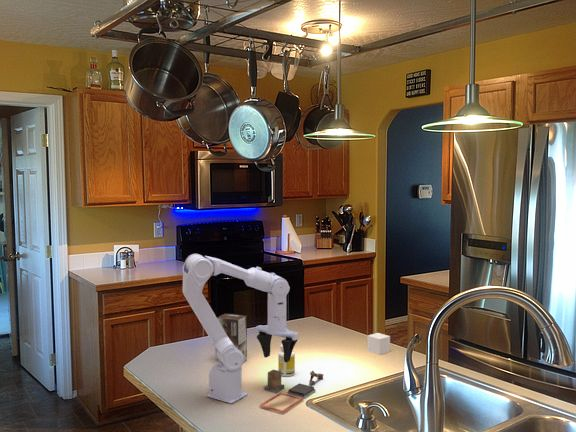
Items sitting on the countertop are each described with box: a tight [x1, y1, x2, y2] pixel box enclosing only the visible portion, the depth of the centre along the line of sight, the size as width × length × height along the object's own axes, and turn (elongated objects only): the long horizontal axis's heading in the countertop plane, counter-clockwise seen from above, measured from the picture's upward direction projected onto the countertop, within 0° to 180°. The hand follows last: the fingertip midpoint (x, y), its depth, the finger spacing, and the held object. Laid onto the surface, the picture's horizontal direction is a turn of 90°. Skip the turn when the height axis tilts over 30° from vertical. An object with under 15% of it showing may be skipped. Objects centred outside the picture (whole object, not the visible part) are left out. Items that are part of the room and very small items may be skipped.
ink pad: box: [286, 383, 316, 400], centre depth 164 cm, size 6×7×2 cm
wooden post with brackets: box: [308, 370, 324, 386], centre depth 172 cm, size 2×8×4 cm, turn 151°
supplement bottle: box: [277, 343, 296, 377], centre depth 180 cm, size 5×5×10 cm
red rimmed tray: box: [259, 392, 304, 415], centre depth 156 cm, size 8×11×1 cm
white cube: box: [366, 332, 391, 356], centre depth 204 cm, size 6×6×6 cm
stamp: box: [264, 369, 285, 394], centre depth 167 cm, size 4×4×6 cm
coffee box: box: [216, 313, 248, 363], centre depth 192 cm, size 9×6×16 cm
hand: (276, 358), depth 166 cm, fingers open, 7 cm apart
